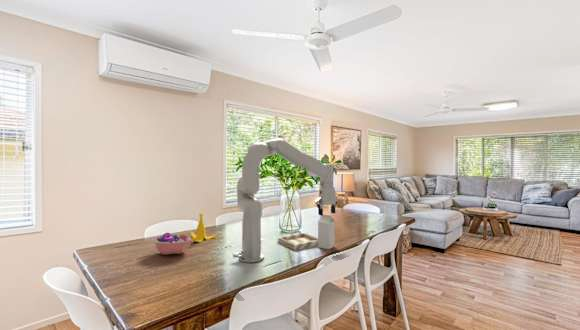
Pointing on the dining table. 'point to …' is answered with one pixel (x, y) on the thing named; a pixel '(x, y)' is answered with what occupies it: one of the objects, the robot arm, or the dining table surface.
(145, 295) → the dining table surface
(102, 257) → the dining table surface
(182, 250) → the cell model
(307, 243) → the serving tray
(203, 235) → the banana peel
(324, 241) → the milk carton
